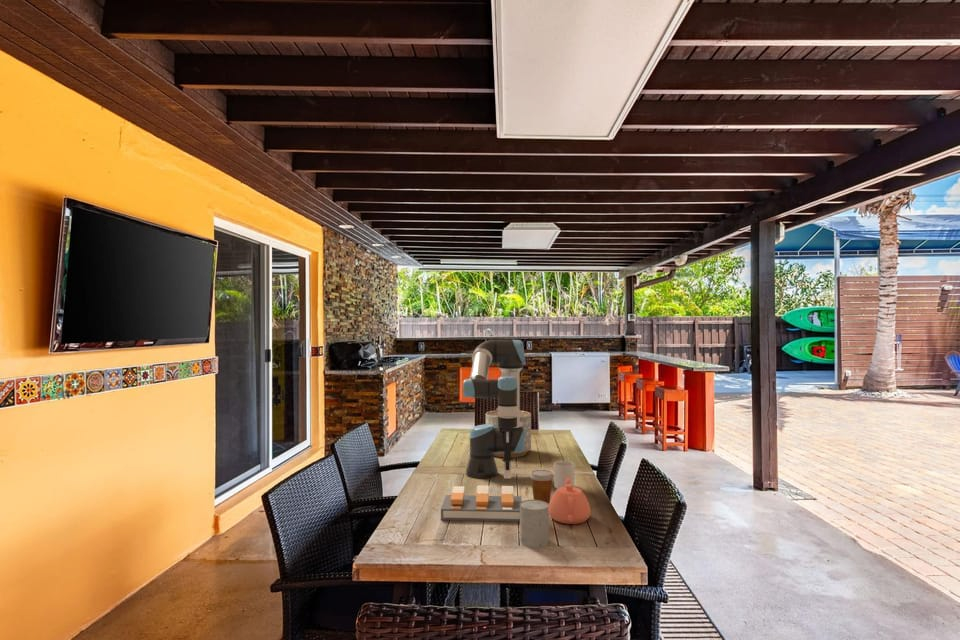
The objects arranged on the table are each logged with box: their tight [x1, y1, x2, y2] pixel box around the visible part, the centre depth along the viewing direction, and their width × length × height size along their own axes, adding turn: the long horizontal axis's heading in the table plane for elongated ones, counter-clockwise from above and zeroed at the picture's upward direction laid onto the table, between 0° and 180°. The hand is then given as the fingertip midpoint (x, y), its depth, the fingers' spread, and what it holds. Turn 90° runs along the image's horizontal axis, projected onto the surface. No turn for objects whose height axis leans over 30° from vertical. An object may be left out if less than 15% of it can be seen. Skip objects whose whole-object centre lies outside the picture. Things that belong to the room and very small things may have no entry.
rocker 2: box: [475, 484, 490, 506], centre depth 200 cm, size 10×4×2 cm, turn 177°
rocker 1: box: [450, 485, 466, 505], centre depth 200 cm, size 10×4×2 cm, turn 177°
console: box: [440, 494, 523, 523], centre depth 200 cm, size 16×30×5 cm, turn 87°
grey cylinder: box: [519, 499, 550, 549], centre depth 174 cm, size 10×10×12 cm
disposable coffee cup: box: [529, 469, 554, 504], centre depth 212 cm, size 10×10×12 cm
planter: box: [485, 409, 532, 458], centre depth 294 cm, size 26×26×22 cm
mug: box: [553, 460, 576, 490], centre depth 231 cm, size 12×9×11 cm
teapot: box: [548, 477, 592, 525], centre depth 195 cm, size 22×16×12 cm
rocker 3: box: [500, 485, 514, 507], centre depth 199 cm, size 10×4×2 cm, turn 177°
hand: (507, 477), depth 203 cm, fingers closed
